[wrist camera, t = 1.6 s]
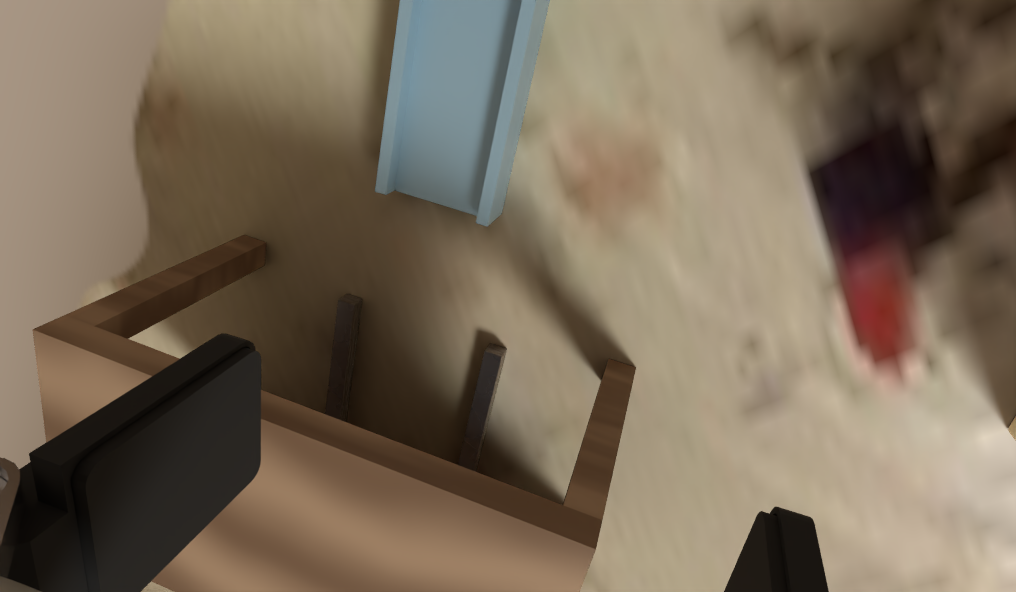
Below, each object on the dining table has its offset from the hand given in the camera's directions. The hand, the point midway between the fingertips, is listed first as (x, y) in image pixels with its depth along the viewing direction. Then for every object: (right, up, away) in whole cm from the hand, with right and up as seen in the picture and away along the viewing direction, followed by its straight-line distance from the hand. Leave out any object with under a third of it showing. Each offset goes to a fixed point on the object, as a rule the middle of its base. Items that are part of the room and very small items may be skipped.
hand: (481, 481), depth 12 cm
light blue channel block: (-1, +16, +19) cm, 24 cm away
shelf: (-5, -2, +27) cm, 28 cm away
